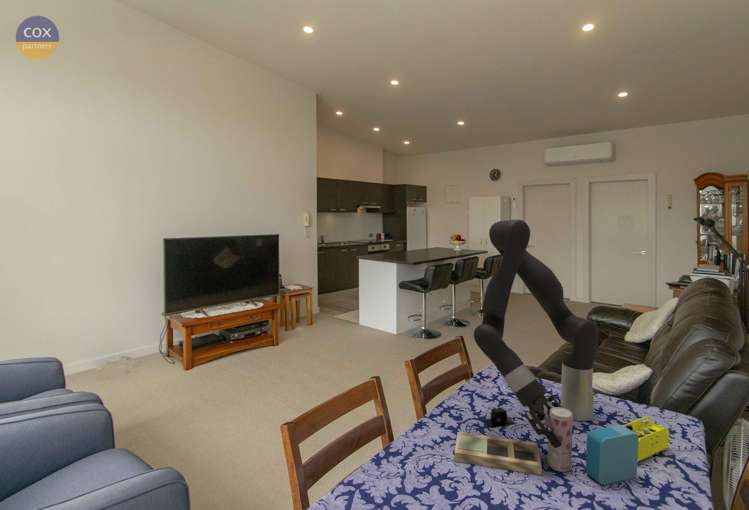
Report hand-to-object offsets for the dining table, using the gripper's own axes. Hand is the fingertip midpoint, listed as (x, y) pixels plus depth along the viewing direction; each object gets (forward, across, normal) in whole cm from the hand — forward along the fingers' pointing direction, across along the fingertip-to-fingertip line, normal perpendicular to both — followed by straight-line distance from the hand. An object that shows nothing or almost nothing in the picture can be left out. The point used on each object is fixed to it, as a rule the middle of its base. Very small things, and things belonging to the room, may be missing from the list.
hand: (565, 440), depth 103 cm
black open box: (-11, +10, +23) cm, 28 cm away
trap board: (-5, -8, +16) cm, 19 cm away
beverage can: (+5, 0, +6) cm, 8 cm away
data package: (+12, +5, -1) cm, 13 cm away
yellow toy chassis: (+15, +23, -3) cm, 28 cm away
